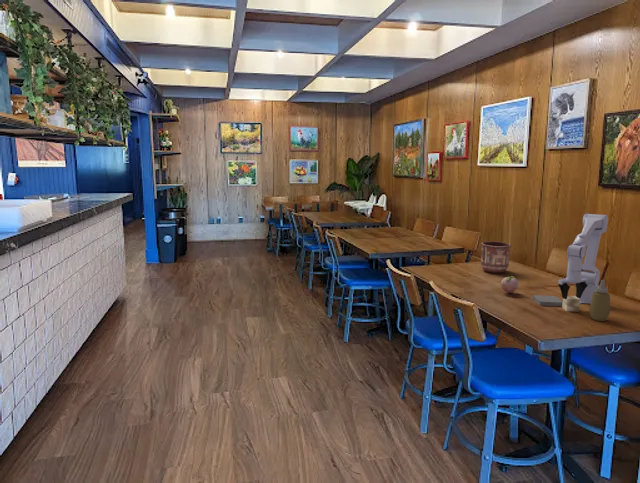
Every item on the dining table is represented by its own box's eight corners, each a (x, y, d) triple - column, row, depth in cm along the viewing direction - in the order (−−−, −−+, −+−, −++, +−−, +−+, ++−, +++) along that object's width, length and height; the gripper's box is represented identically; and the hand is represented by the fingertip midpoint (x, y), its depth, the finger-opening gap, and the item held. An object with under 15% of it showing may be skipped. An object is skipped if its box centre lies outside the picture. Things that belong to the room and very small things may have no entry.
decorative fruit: (503, 290, 251) (504, 272, 250) (519, 292, 246) (520, 274, 245) (497, 294, 244) (499, 275, 243) (513, 296, 239) (515, 278, 237)
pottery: (473, 269, 298) (475, 242, 295) (493, 267, 305) (495, 240, 302) (493, 276, 282) (496, 247, 279) (514, 273, 290) (517, 245, 286)
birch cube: (574, 308, 221) (575, 296, 220) (578, 311, 216) (580, 299, 215) (562, 307, 222) (563, 295, 221) (566, 311, 217) (567, 298, 216)
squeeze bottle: (601, 316, 210) (606, 277, 206) (613, 322, 202) (618, 282, 199) (584, 316, 209) (588, 278, 206) (595, 322, 201) (599, 282, 198)
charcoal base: (554, 300, 235) (555, 295, 234) (563, 307, 224) (563, 302, 223) (532, 299, 236) (532, 295, 236) (539, 306, 225) (540, 301, 225)
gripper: (581, 267, 221) (578, 294, 223) (554, 269, 218) (552, 296, 220) (592, 271, 214) (589, 299, 217) (565, 272, 211) (562, 300, 214)
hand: (571, 298), depth 218 cm, fingers open, 7 cm apart
